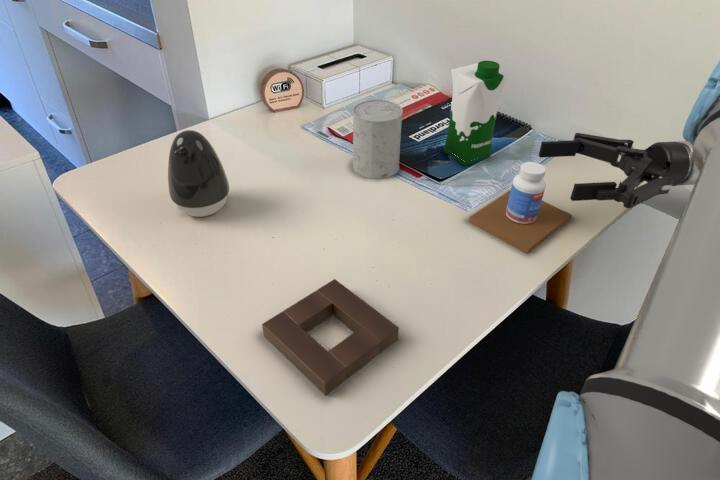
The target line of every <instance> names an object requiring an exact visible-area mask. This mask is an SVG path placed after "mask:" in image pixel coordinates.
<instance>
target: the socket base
mask: <svg viewBox="0 0 720 480" xmlns="http://www.w3.org/2000/svg"><path fill="white" fill-rule="evenodd" d="M332 316H333V317H334V318H335V319H336V320H338V321H339V322H340V323H342V324H343V325H344V326H346V327H347V328H348V329H349V330H350V331H352V332H353V333H351V334H350V335H348V336H347V337H345V338H344V339H343V340H342V341H340V342H339V343H337V344H336V345H335V346H333V347H332V348H330V349H329V350H327V349H326V348H325V347H324V346H322V344H320V343H319V342H318V341H317V340H316V339H315V338H313V337H312V336H311V335H310V334H309V333H308V332H310V331H311V330H313V329H314V328H316V327H317V326H319V325H320V324H322V323H323V322H325V321H326V320H327V319H329V318H331V317H332ZM261 327H262V328H261V329H262V333H263V337H264V338H265V339H266V340H267V341H268V342H269V343H270V344H271V345H272V346H273V347H274V348H275V349H276V350H278V352H279V353H281V355H283V356H284V357H285V358H286V359H287V361H288V362H289V363H291V364H292V365H293V366H294V367H295V368H296V369H297V370H298V371H299V372H300V373H301V374H302V375H303V376H304V377H305V378H307V380H309V382H311V383H312V384H313V385H314V386H315V387H316V388H317V389H318V390H319V391H320V392H321V393H322V394H323V395H324V396H327V395H329V394H330V393H331V392H332V391H333V390H335V389H336V388H337V387H339V386H340V385H341V384H343V383H344V382H345V381H346V380H348V379H349V378H350V377H352V376H353V375H355V373H357V372H359V371H360V370H361V369H362V368H364V367H365V366H366V365H367V364H369V363H370V362H372V360H374V359H375V358H377V357H378V356H380V354H382V353H383V352H385V351H386V350H387V349H388V348H390V347H391V346H392V345H394V344H395V343H396V342H398V340H399V333H400V327H399V326H397V325H396V324H395V323H394V322H392V321H391V320H390V319H389V318H387V317H386V316H384V315H383V314H381V312H379V311H378V310H377V309H375V308H374V307H373V306H372V305H370V304H368V303H367V302H366V301H364V300H363V299H362V298H360V296H358V295H357V294H355V293H354V292H352V290H350V289H349V288H347V287H346V286H344V285H343V283H341V282H339V281H338V280H337V279H335V278H334V279H332V280H331V281H328V282H327V283H325V284H324V285H323V286H321V287H319V288H317V289H316V290H315V291H313V292H312V293H310V294H308V295H306V296H305V297H303V298H302V299H300V300H298V301H297V302H295V303H293V304H291V305H290V306H289V307H287V308H285V309H284V310H282V311H281V312H279V313H278V314H276V315H275V316H272V317H271V318H270V319H268V320H266V321H264V322H263V323H262V324H261Z"/></svg>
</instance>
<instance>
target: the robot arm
mask: <svg viewBox="0 0 720 480" xmlns="http://www.w3.org/2000/svg"><path fill="white" fill-rule="evenodd" d="M682 138H683V139H684V140H679V141H657V142H654V143H652V144H651V145H649V146H648V147H646V148H645V149H640V148H634V146H633V145H634V142H635V141H634V140H633V139H619V138H613V137H606V136H601V135H593V134H588V133H582V132H575V133H574V136H573V139H572V140H571V139H570V140H553V141H541V142H540V147H539V150H538V155H537V156H538V158H558V157H559V158H560V157H575V156H576V154H578V155H582V156H585V157H589V158H591V159H596V160H598V161H603V162H607V163H610V165H611V167H614V168H618V169H619V170H621V171H623V173H624V175H625V176H626V178H625V179H623V181H619V184H617V182H616V181H602V182H585V183H584V182H583V183H582V182H581V183H574V184H573V188H572V191H571V195H570V197H569V198H570V200H571V201H572V202H578V201H581V202H582V201H614V202H617V203H623V204H622V206H623V207H624V208H625V209H632V208H634V207H637V206H638V205H640V204H642V203H644V202H647V201H649V200H650V199H652V198H654V197H656V196H660V195H667V194H669V192H670V190H671V188H672V187H677V186H679V187H680V186H692V185H693V187H692V189H691V192H690V194H689V197H688V199H687V200H686V203H685V206H684V208H683V210H682V212H681V215H680V217H679V219H678V221H677V224H676V226H675V229H674V231H673V233H672V236H671V238H670V240H669V242H668V245H667V247H666V249H665V251H664V254H663V256H662V258H661V261H660V262H659V264H658V268H657V270H656V272H655V274H654V277H653V279H652V281H651V283H650V286H649V288H648V291H647V292H646V295H645V297H644V299H643V302H642V304H641V306H640V309H639V310H638V313H637V315H636V317H635V320H634V322H633V325H632V327H631V329H630V331H629V333H628V336H627V338H626V340H625V343H624V346H623V348H622V350H621V352H620V354H619V356H618V359H617V361H616V364H615V366H614V368H613V369H611V370H607V371H603V372H599V373H595V374H592V375H590V376H588V377H587V378H586V380H585V381H584V383H583V385H582V388H581V391H580V393H579V394H578V393H576V392H574V391H565V390H561V391H559V392H558V393H557V395H556V398H555V401H554V404H553V407H552V411H551V414H550V417H549V421H548V424H547V426H546V431H545V434H544V437H543V440H542V443H541V447H540V450H539V453H538V456H537V459H536V463H535V466H534V469H533V473H532V476H531V479H530V480H720V60H718V62H717V64H716V65H715V66H714V69H712V72H711V73H710V75H709V77H708V80H707V82H706V83H705V84H704V86H703V88H702V90H701V91H700V93H699V94H698V96H697V98H696V100H695V102H694V104H693V106H692V108H691V110H690V112H689V114H688V117H687V118H686V120H685V123H684V126H683V130H682ZM619 157H620V159H619ZM618 160H619V161H618ZM644 182H646V183H644ZM642 183H644V184H642Z"/></svg>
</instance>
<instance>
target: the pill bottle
mask: <svg viewBox="0 0 720 480" xmlns="http://www.w3.org/2000/svg"><path fill="white" fill-rule="evenodd" d="M545 175H546V167H545V166H544V165H543V164H541V163H539V162H534V161H526V162H523V163H521V165H520V169H519V172H518V174H516V175H515V176H514V177H513V179H512V183H511V188H510V190H511V191H510V190H509V191H510V196H509V200H508V204H507V208H506V215H507V217H508V218H509V219H510V220H512V221H514V222H516V223H520V224H529V223H532V222H534V221H535V220H536V218H537V216H538V212H539V209H540V205H541V202H542V201H543V197H544V194H545V191H546V186H547V184H546V180H545V179H544V178H545Z"/></svg>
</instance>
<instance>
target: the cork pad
mask: <svg viewBox="0 0 720 480" xmlns="http://www.w3.org/2000/svg"><path fill="white" fill-rule="evenodd" d="M510 191H511V189H510V190H508V191H506V192H505V193H504V194H502V195H500V196H499V197H498V198H496V199H495V200H493V201H491V202H490V203H489V204H487V205H486V206H484V207H482V208H480V209H479V210H478V211H477V212H475V213H473V214H472V215H471V216H469V218H468V222H469V223H470V224H472V225H473V226H476V227H478V228H479V229H482V230H483V231H485V232H487V233H489V234H491V235H492V236H494V237H496V238H497V239H500V240H501V241H504V242H505V243H506V244H509V245H511V246H513V247H514V248H517V249H518V250H520V251H521V252H524V253H526V254H529V253H530V252H532V251H533V250H534V249H535V248H537V247H538V246H539V245H541V243H543V242H544V241H545V240H546V239H548V238H549V237H551V236H552V235H553V234H554V233H556V232H557V231H558V230H559V229H561V228H562V227H563V226H564V225H566V224H567V223H568V222H569V221H571V219H572V217H573V214H572V213H570V212H568V211H565V210H563V209H561V208H558V207H557V206H555V205H552V204H550V203H549V202H546V201H544V200H542V202H541V205H540V209H539V212H538V216H537V218H536V220H535V221H534V222H532V223H529V224H520V223H516V222H514V221H512V220H510V219H509V218H508V217H507V215H506V208H507V204H508V200H509V196H510Z"/></svg>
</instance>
